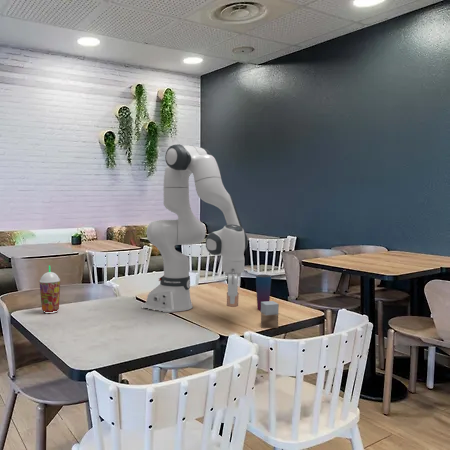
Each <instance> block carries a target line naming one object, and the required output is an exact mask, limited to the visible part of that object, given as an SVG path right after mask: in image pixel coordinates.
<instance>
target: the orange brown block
mask: <svg viewBox="0 0 450 450" xmlns="http://www.w3.org/2000/svg"><path fill="white" fill-rule="evenodd" d="M239 294H240V293H239V292H237V296H235V303H234V304H230V296H228V291H227V292H226V306H227V307H229V308H236V307H238V306H239V299H240V298H239V297H240V296H239Z"/></svg>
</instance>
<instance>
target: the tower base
mask: <svg viewBox="0 0 450 450" xmlns="http://www.w3.org/2000/svg"><path fill="white" fill-rule="evenodd" d="M260 328H263V329H266V328H267V329H279V313H278V314H277V315H265V314H263V313H262V312H261V311H260Z"/></svg>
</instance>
